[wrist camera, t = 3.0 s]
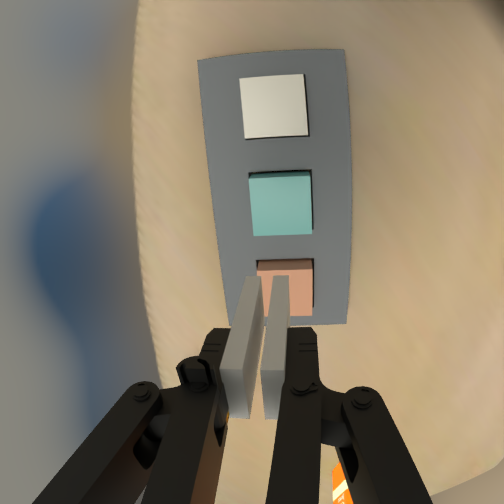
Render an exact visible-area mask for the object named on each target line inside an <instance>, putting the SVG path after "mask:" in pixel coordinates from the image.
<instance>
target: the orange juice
mask: <svg viewBox="0 0 504 504" xmlns="http://www.w3.org/2000/svg"><path fill="white" fill-rule="evenodd" d="M333 504H353V502H352V499H351V496H350V492H349V489H348V486H347V483H346V480H345V477H344V473H343V470H342V467H341V464H340V463H339V464H338V465H337V466H336V467H335V469H334V470H333Z"/></svg>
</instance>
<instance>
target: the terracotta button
mask: <svg viewBox="0 0 504 504" xmlns="http://www.w3.org/2000/svg"><path fill="white" fill-rule="evenodd" d="M275 275H289V297H290V316H312V261H311V258H300V259H267V260H259V263H258V267H257V276H261V279H262V291H263V304H264V316H265V317H267V316H268V311H269V304H270V297H271V289H272V281H273V276H275Z"/></svg>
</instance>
